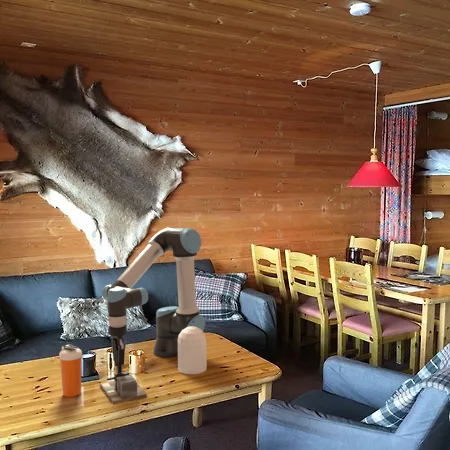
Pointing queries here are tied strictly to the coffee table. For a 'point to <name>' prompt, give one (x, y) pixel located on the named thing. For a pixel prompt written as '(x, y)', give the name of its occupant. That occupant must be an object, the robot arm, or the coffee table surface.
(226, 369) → the coffee table surface
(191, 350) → the container
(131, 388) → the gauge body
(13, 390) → the coffee table surface
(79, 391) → the shaker bottle
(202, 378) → the coffee table surface
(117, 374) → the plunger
